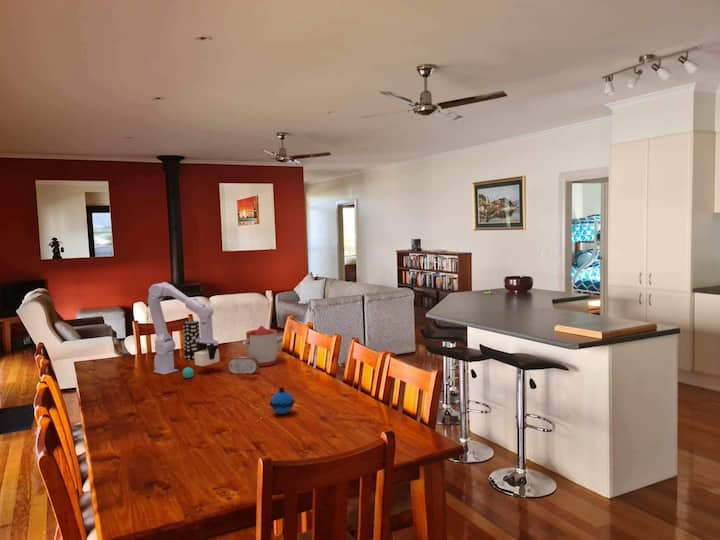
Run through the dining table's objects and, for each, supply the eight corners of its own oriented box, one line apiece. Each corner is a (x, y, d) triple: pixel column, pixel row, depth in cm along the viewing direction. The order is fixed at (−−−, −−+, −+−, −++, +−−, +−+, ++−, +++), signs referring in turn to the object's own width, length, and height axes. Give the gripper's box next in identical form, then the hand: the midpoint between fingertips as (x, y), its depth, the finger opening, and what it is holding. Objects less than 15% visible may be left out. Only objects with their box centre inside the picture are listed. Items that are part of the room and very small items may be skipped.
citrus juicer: (241, 363, 275) (239, 325, 274) (273, 359, 283) (272, 322, 281) (247, 370, 261) (246, 330, 260) (282, 365, 269) (280, 326, 267)
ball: (180, 378, 249) (179, 367, 249) (189, 375, 253) (189, 365, 253) (186, 379, 246) (186, 369, 246) (196, 377, 250) (195, 367, 250)
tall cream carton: (195, 364, 256) (194, 352, 255) (212, 359, 264) (211, 348, 263) (202, 366, 253) (201, 354, 252) (219, 361, 261) (218, 349, 260)
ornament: (298, 411, 199) (297, 385, 198) (284, 419, 192) (283, 392, 191) (280, 408, 203) (279, 382, 203) (265, 415, 196) (264, 388, 195)
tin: (259, 373, 256) (259, 355, 255) (257, 374, 252) (257, 357, 252) (229, 373, 257) (228, 355, 256) (227, 374, 254) (226, 357, 253)
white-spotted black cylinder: (195, 360, 283) (194, 323, 282) (181, 360, 285) (179, 323, 283) (203, 357, 291) (201, 321, 290) (189, 356, 293) (187, 320, 292)
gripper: (190, 330, 258) (191, 358, 260) (209, 333, 250) (210, 362, 251) (202, 328, 264) (203, 355, 265) (221, 331, 255) (222, 358, 256)
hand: (207, 358), depth 258 cm, fingers closed on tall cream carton, 6 cm apart
